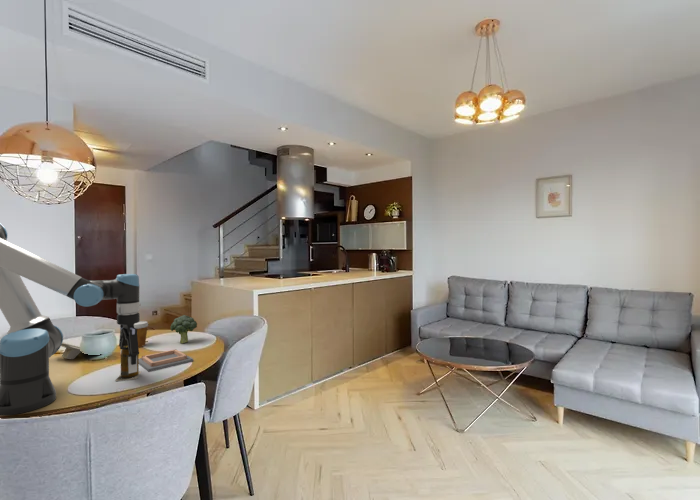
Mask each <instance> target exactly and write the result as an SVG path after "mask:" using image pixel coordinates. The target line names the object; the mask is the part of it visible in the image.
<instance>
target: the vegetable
mask: <svg viewBox="0 0 700 500" xmlns="http://www.w3.org/2000/svg"><path fill="white" fill-rule="evenodd" d="M197 325H198V323H197V321H196V320H195V319H194V317H191V316H189V315H185V314H182V315H180V316H179V317H176V318H174V319H173V322H172V323H171V325H170V327H169V328H170V331H171V332H173V331H175V333H177V334H179V335H180V341H179V343H180V344H185V343H188V342H189V336H188V333H189V332H188V331H190V332H193V331H194V329H196V328H198V326H197Z"/></svg>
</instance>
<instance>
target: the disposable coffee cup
mask: <svg viewBox="0 0 700 500" xmlns="http://www.w3.org/2000/svg"><path fill="white" fill-rule="evenodd" d="M148 327H149V323H148V321H146V320H140V321H139V322H138V323H135V324H134V328H135V329H136V328H137V338H138V348H141V347H142V348H143V347H144V346H146V342H147V341H146V340H147V333H148Z"/></svg>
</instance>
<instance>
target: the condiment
mask: <svg viewBox="0 0 700 500" xmlns="http://www.w3.org/2000/svg"><path fill="white" fill-rule="evenodd" d="M121 350H122V353H121V352H120V374H119V376H117V378H116V379H115V380H114V381H117V382H120V381H129V380H136V379H138V378H139V377H140V376H141V373H142V370H140V371H139V366H140V365H139V362H138V361H139V359H140V358H139V355H140V353H139V354H138V355H137V372H134V373H129V357H127V356H128V355H129V349H128V345H125V346H123V347H122V349H121Z"/></svg>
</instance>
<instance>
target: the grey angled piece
mask: <svg viewBox="0 0 700 500" xmlns="http://www.w3.org/2000/svg"><path fill="white" fill-rule="evenodd" d="M61 347H62V348H65V349H64V351H63V353H62V354H61V357H62V358H65V359H69V360H74V359H75V358H77V356H78V355H79V354H80V353H82V351H80V347H81V346H79V345H75V344H72V343H71V344H70V343H68V342H67V343H66V342H64V341H63V342H62V345H61Z"/></svg>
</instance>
